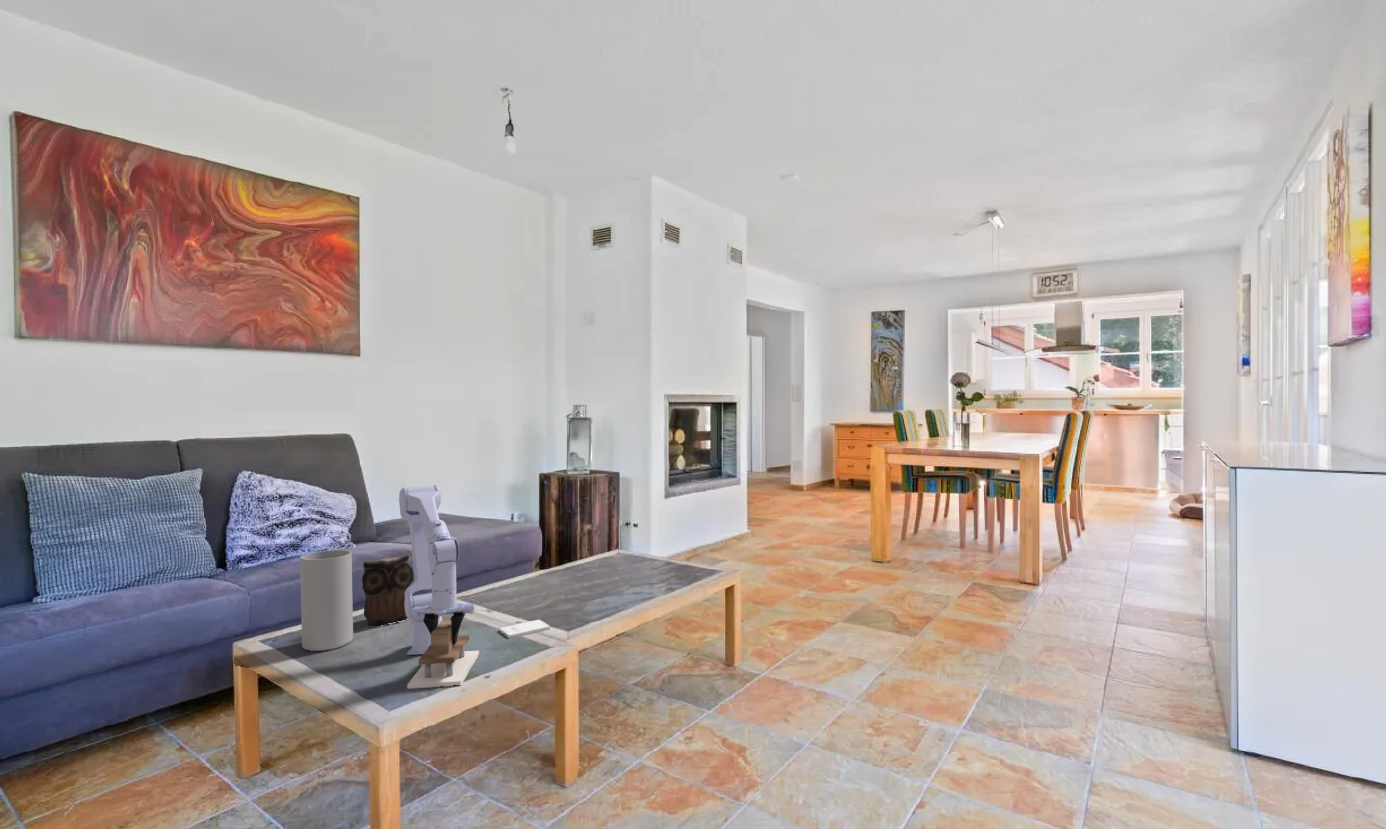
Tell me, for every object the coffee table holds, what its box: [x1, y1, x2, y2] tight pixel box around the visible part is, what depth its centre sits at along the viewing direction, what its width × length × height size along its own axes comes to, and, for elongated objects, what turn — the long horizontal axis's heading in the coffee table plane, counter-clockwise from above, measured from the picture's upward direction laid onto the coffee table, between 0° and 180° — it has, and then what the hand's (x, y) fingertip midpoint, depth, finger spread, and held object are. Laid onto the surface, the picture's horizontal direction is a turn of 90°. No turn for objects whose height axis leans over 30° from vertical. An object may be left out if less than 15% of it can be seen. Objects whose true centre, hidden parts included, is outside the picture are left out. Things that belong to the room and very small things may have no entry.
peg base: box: [407, 647, 480, 690], centre depth 163 cm, size 20×12×4 cm, turn 7°
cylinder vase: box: [299, 549, 354, 652], centre depth 183 cm, size 12×12×25 cm
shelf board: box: [418, 619, 470, 666], centre depth 162 cm, size 16×8×6 cm, turn 7°
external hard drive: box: [498, 619, 551, 639], centre depth 192 cm, size 2×8×12 cm
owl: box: [361, 555, 415, 627], centre depth 202 cm, size 13×13×20 cm
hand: (445, 643), depth 163 cm, fingers closed on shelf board, 4 cm apart
